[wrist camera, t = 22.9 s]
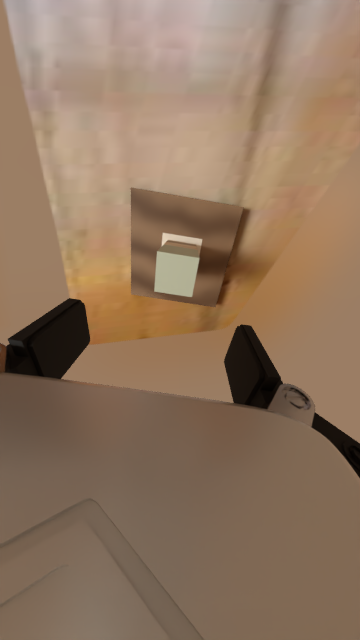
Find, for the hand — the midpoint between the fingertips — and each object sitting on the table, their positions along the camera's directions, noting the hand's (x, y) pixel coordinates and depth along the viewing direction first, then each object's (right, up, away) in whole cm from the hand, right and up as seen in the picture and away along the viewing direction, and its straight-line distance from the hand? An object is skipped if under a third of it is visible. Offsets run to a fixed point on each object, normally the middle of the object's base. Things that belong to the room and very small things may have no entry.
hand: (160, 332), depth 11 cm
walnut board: (+1, +14, +23) cm, 26 cm away
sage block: (+1, +9, +16) cm, 18 cm away
